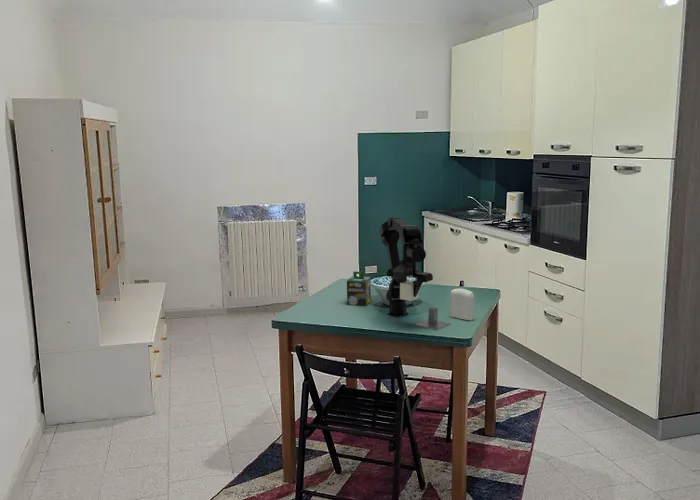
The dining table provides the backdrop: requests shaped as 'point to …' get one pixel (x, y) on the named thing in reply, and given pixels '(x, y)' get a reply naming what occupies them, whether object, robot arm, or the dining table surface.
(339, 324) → the dining table surface
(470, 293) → the photo printer
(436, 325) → the post
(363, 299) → the chalk box
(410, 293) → the cream rectangular block
